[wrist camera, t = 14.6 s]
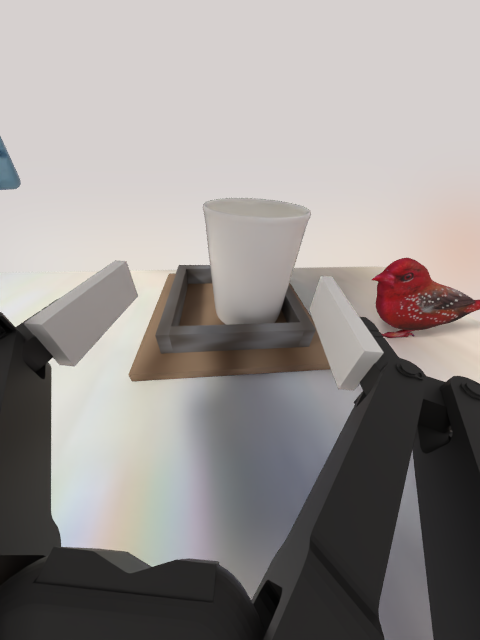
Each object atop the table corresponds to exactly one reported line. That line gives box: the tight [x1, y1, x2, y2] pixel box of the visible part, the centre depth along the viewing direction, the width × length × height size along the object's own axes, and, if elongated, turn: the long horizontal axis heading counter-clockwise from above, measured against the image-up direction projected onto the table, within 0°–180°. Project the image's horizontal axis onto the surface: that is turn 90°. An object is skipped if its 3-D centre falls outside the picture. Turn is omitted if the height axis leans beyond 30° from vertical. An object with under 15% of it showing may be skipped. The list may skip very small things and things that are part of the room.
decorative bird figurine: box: [372, 258, 480, 338], centre depth 21 cm, size 3×18×10 cm, turn 92°
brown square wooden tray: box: [129, 265, 331, 381], centre depth 25 cm, size 20×20×4 cm
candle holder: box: [203, 198, 311, 325], centre depth 21 cm, size 10×10×12 cm
